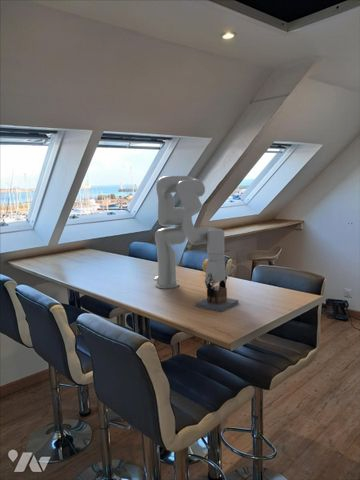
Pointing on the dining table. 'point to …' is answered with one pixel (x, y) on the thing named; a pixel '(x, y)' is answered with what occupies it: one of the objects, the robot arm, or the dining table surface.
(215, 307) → the stand
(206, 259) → the stress ball
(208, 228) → the robot arm
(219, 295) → the wooden block stack
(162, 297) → the dining table surface
